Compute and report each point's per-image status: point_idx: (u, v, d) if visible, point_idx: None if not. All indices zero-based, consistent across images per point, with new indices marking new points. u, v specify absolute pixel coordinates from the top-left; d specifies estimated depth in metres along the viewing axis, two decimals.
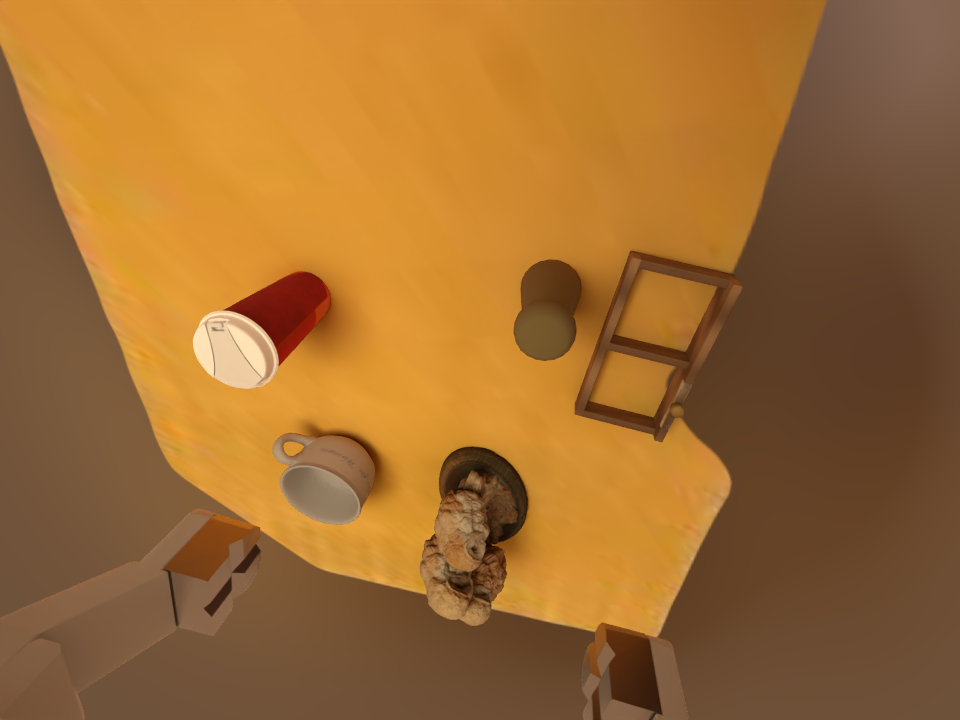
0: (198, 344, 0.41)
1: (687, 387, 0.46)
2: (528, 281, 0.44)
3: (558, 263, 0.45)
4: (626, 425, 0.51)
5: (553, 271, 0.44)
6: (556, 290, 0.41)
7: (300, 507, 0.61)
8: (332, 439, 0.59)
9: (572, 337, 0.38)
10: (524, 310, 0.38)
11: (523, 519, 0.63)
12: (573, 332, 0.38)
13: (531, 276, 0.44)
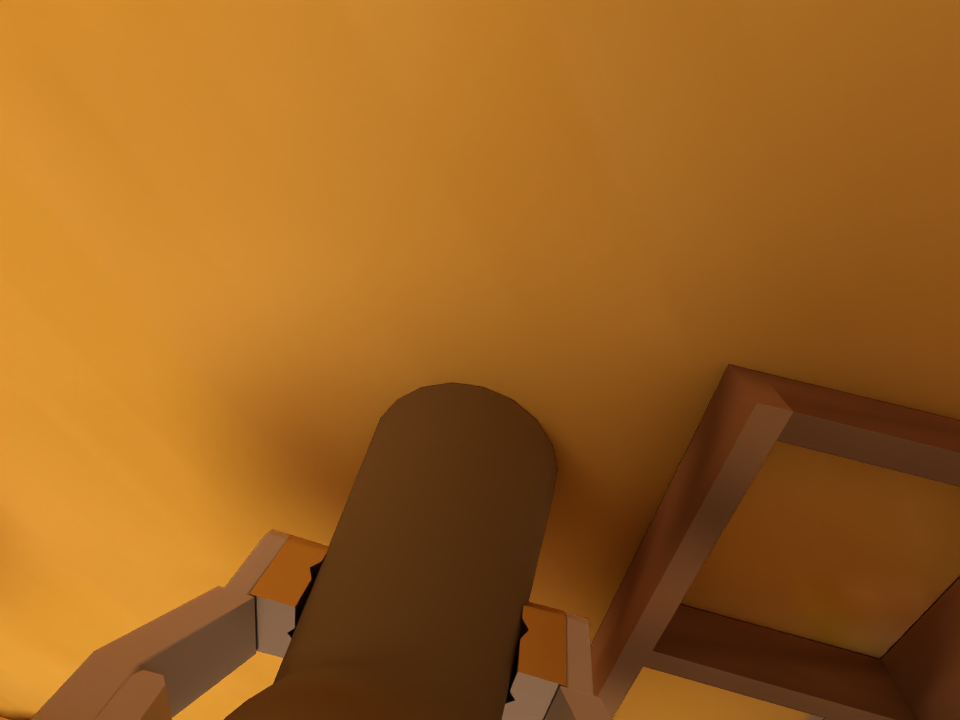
0: None
1: None
2: (364, 470, 0.12)
3: (477, 399, 0.13)
4: None
5: (452, 437, 0.12)
6: (438, 561, 0.09)
7: None
8: None
9: None
10: None
11: None
12: None
13: (378, 449, 0.12)
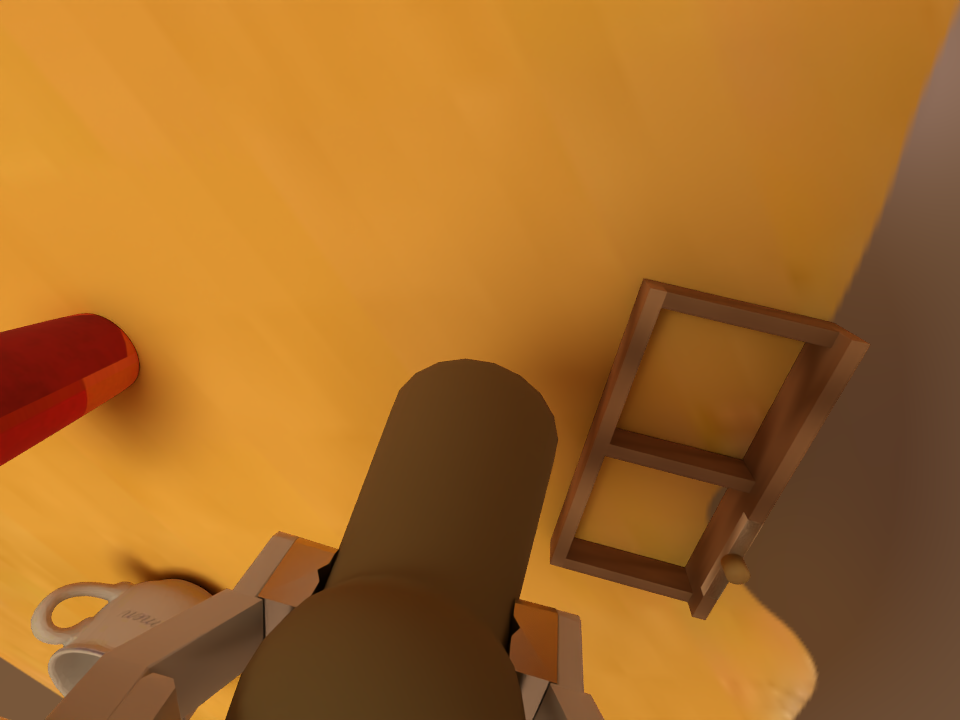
0: None
1: (754, 528, 0.25)
2: (388, 431, 0.14)
3: (488, 373, 0.15)
4: (640, 586, 0.29)
5: (468, 404, 0.13)
6: (460, 500, 0.11)
7: None
8: (152, 591, 0.36)
9: None
10: (260, 666, 0.07)
11: None
12: None
13: (400, 414, 0.14)
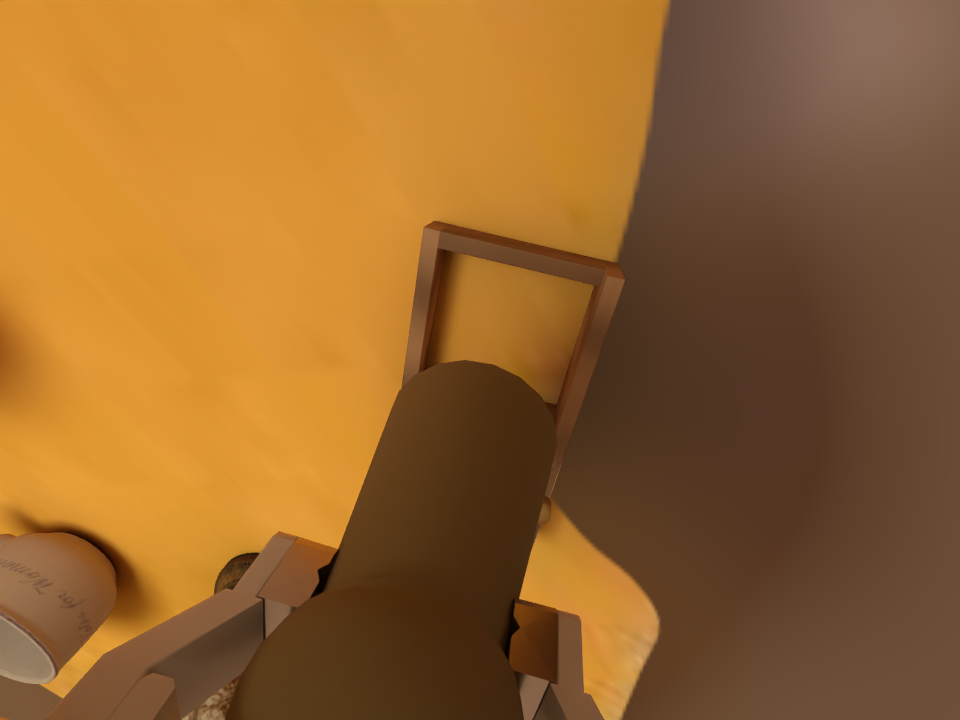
0: None
1: (554, 469, 0.26)
2: (387, 433, 0.14)
3: (488, 374, 0.15)
4: None
5: (467, 406, 0.13)
6: (459, 503, 0.10)
7: None
8: (29, 541, 0.37)
9: None
10: (258, 669, 0.07)
11: None
12: None
13: (399, 415, 0.14)
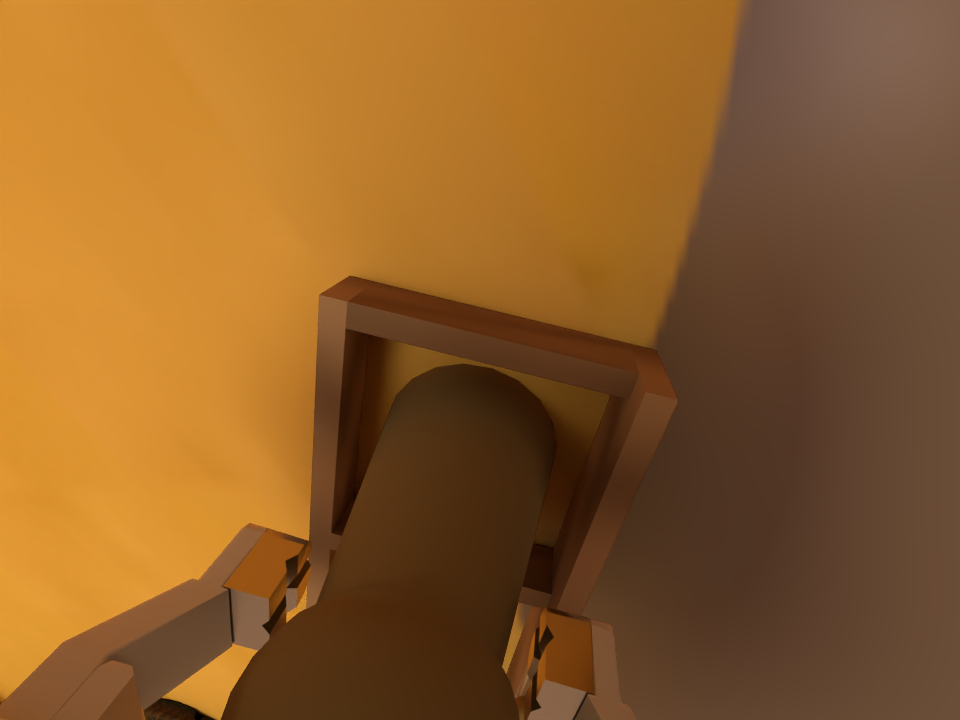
0: None
1: None
2: (384, 438, 0.14)
3: (486, 378, 0.15)
4: None
5: (465, 411, 0.13)
6: (456, 510, 0.10)
7: None
8: None
9: None
10: (249, 684, 0.07)
11: None
12: None
13: (397, 420, 0.14)
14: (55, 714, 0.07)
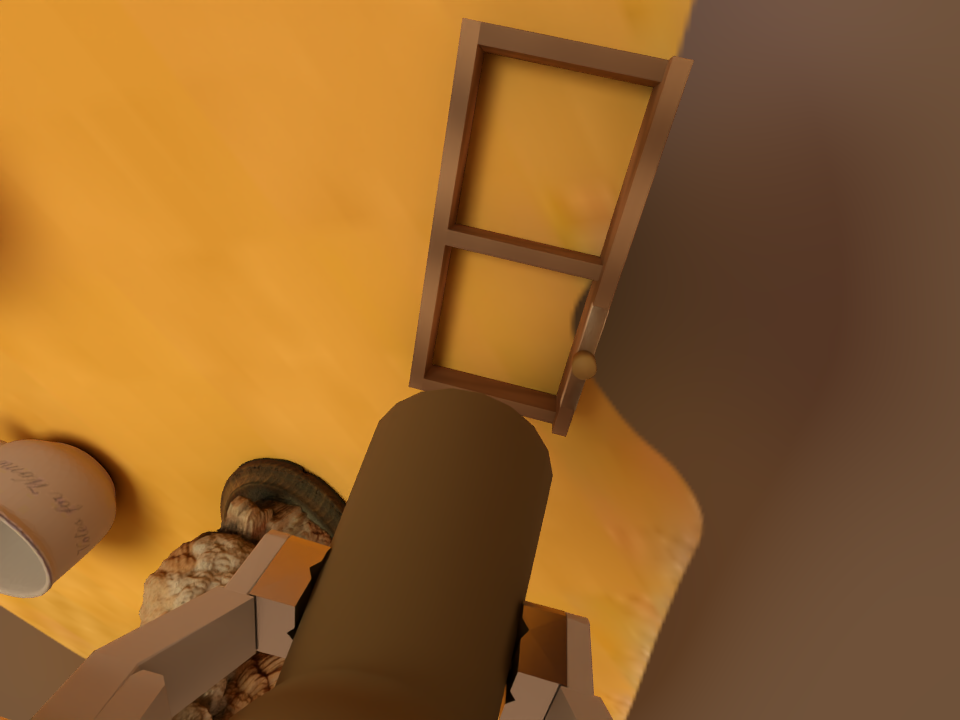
0: None
1: (600, 316, 0.23)
2: (363, 473, 0.12)
3: (476, 405, 0.13)
4: None
5: (452, 443, 0.12)
6: (439, 566, 0.09)
7: None
8: (22, 444, 0.34)
9: None
10: None
11: None
12: None
13: (377, 452, 0.13)
14: None
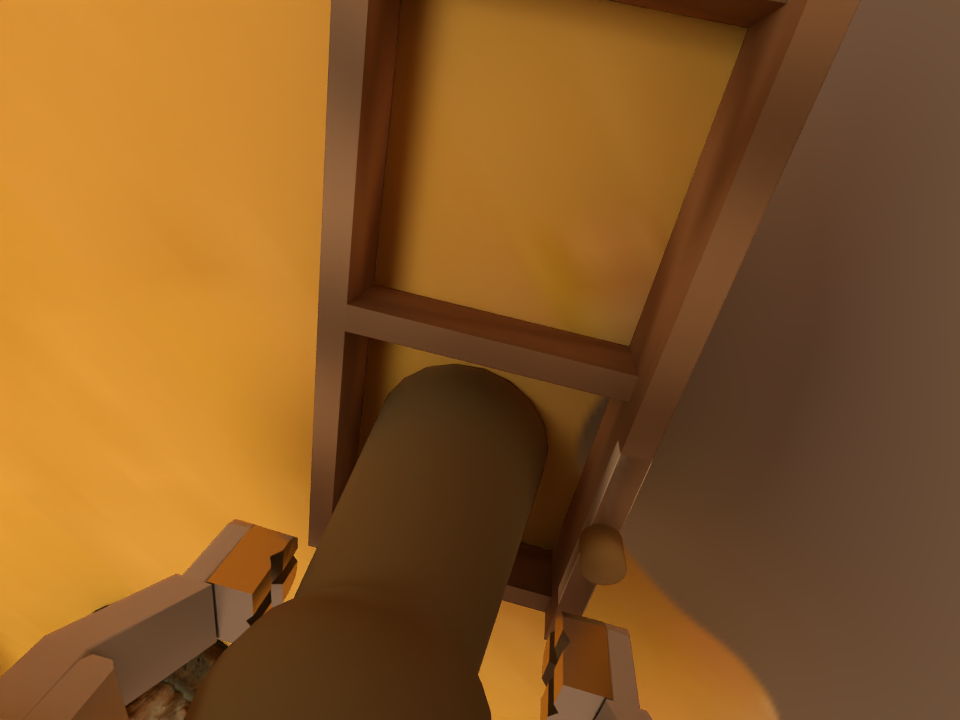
0: None
1: (634, 472, 0.12)
2: (371, 437, 0.14)
3: (476, 379, 0.14)
4: None
5: (453, 410, 0.13)
6: (436, 509, 0.10)
7: None
8: None
9: None
10: (214, 679, 0.07)
11: None
12: None
13: (385, 419, 0.14)
14: (33, 708, 0.07)
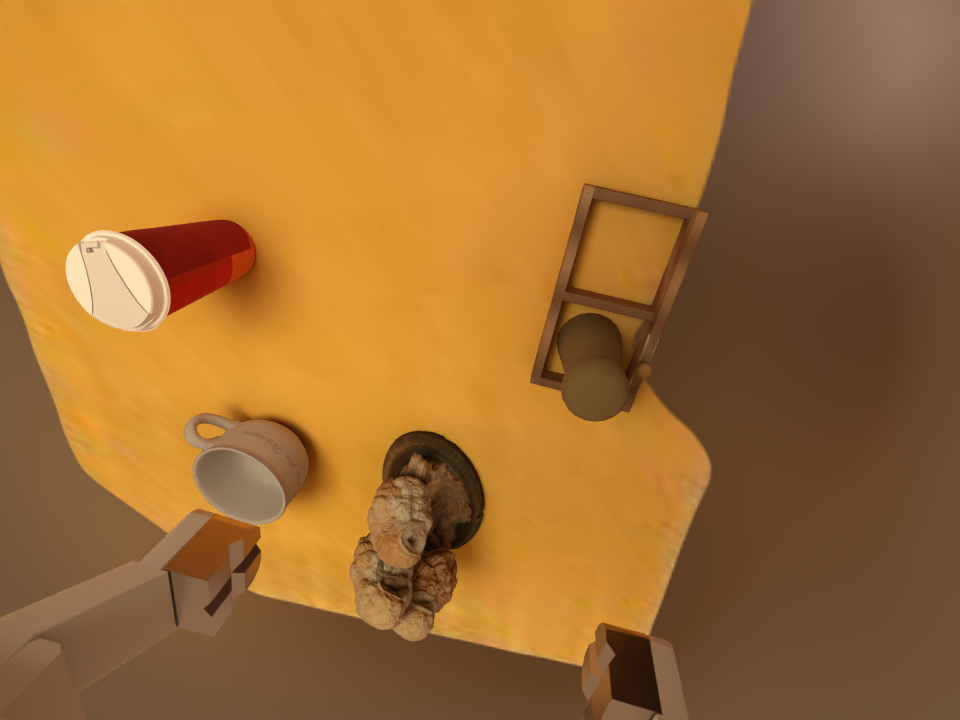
0: (72, 271, 0.34)
1: (654, 342, 0.41)
2: (569, 335, 0.42)
3: (599, 317, 0.43)
4: None
5: (596, 325, 0.41)
6: (604, 346, 0.39)
7: (218, 504, 0.52)
8: (258, 422, 0.52)
9: (626, 397, 0.35)
10: (575, 367, 0.36)
11: (479, 519, 0.55)
12: (628, 392, 0.35)
13: (572, 329, 0.42)
14: None
